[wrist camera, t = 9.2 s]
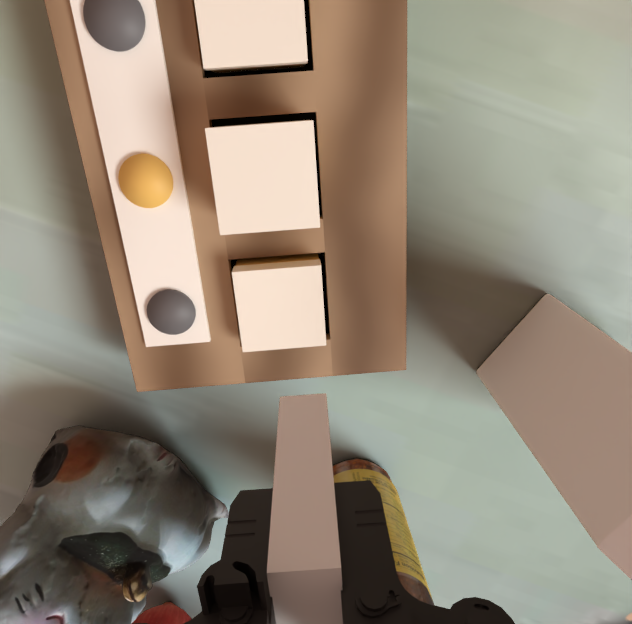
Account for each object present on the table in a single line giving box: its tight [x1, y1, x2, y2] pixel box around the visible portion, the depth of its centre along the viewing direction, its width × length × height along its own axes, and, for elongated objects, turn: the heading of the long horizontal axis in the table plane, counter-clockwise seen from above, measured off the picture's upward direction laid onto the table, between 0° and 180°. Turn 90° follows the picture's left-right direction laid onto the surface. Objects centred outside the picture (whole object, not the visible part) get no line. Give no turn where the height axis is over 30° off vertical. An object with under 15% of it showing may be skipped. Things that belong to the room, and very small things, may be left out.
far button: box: [232, 253, 326, 352], centre depth 28 cm, size 5×5×4 cm
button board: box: [44, 0, 407, 392], centre depth 27 cm, size 16×24×4 cm, turn 4°
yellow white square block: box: [194, 0, 308, 73], centre depth 23 cm, size 5×5×4 cm
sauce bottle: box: [332, 458, 434, 605], centre depth 29 cm, size 7×6×20 cm
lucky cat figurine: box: [0, 426, 229, 624], centre depth 32 cm, size 15×12×14 cm
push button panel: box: [70, 0, 211, 347], centre depth 25 cm, size 4×18×1 cm, turn 4°
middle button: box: [205, 120, 320, 235], centre depth 24 cm, size 5×5×4 cm
